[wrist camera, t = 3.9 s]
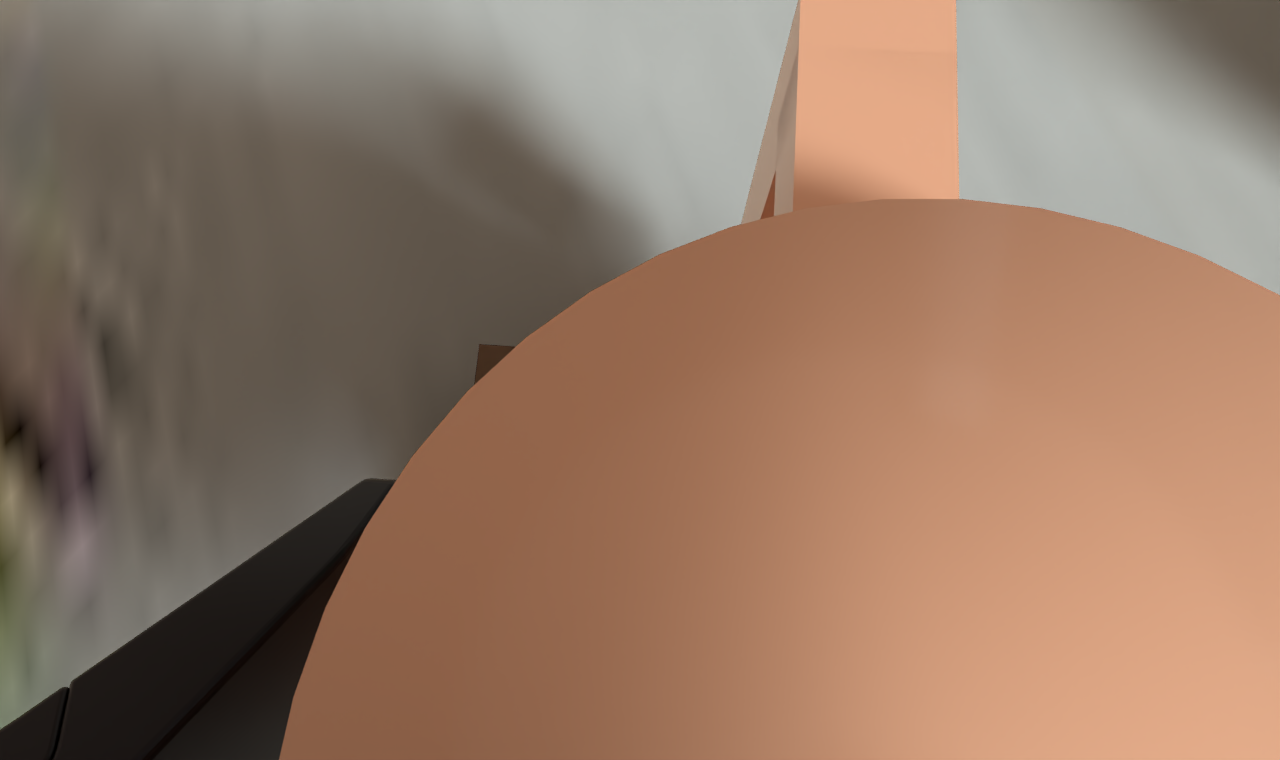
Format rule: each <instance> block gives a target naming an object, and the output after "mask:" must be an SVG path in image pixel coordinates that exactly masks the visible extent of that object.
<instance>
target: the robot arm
mask: <svg viewBox="0 0 1280 760" xmlns="http://www.w3.org/2000/svg"><path fill="white" fill-rule="evenodd" d="M395 482H396V480H388V479H374V478H370V479H365V480H363V481H361V482H360V483H358V484H357V485H355V486H354V487H352V488H351V489H349V490H348V491H347V492H345V493H344V494H342V495H341V496H339V497H338V498H336V499H335V500H333V501H332V502H331V503H329V504H328V505H326V506H325V507H323V508H322V509H320V510H319V511H318V512H316V513H315V514H313V515H312V516H310V517H309V518H307V519H306V520H304V521H303V522H302V523H300V524H299V525H297V526H296V527H294V528H293V529H291V530H290V531H289V532H287V533H286V534H284V535H283V536H281V537H280V538H278V539H277V540H276V541H274V542H273V543H271V544H270V545H268V546H267V547H265V548H264V549H262V550H261V551H260V552H258V553H257V554H255V555H254V556H252V557H251V558H249V559H248V560H247V561H245V562H244V563H242V564H241V565H239V566H238V567H236V568H235V569H233V570H232V571H231V572H229V573H228V574H226V575H225V576H223V577H222V578H220V579H219V580H218V581H216V582H215V583H213V584H212V585H210V586H209V587H207V588H206V589H205V590H203V591H202V592H200V593H199V594H197V595H196V596H194V597H193V598H191V599H190V600H189V601H187V602H186V603H184V604H183V605H181V606H180V607H178V608H177V609H176V610H174V611H173V612H171V613H170V614H168V615H167V616H165V617H164V618H162V619H161V620H160V621H158V622H157V623H155V624H154V625H152V626H151V627H149V628H148V629H147V630H145V631H144V632H142V633H141V634H139V635H138V636H136V637H135V638H134V639H132V640H131V641H129V642H128V643H126V644H125V645H123V646H122V647H120V648H119V649H118V650H116V651H115V652H113V653H112V654H110V655H109V656H107V657H106V658H105V659H103V660H102V661H100V662H99V663H97V664H96V665H94V666H93V667H92V668H90V669H89V670H87V671H86V672H84V673H83V674H81V675H80V676H78V677H77V678H76V679H74V680H73V681H72V682H71V684H70V688H68V687H63V688H61V689H59V690H58V691H56V692H55V693H53V694H52V695H50V696H49V697H48V698H46V699H45V700H43V701H42V702H40V703H39V704H37V705H36V706H35V707H33V708H32V709H30V710H29V711H27V712H26V713H24V714H23V715H21V716H20V717H19V718H17V719H16V720H14V721H13V722H11V723H10V724H8V725H7V726H5V727H4V728H2V729H1V730H0V760H279V757H280V753H281V749H282V744H283V740H284V736H285V731H286V727H287V723H288V718H289V714H290V710H291V706H292V701H293V697H294V694H295V691H296V688H297V686H298V683H299V680H300V677H301V674H302V672H303V669H304V666H305V663H306V660H307V658H308V655H309V652H310V649H311V646H312V644H313V641H314V638H315V635H316V632H317V630H318V627H319V624H320V621H321V619H322V616H323V613H324V610H325V608H326V606H327V604H328V602H329V600H330V598H331V596H332V594H333V592H334V590H335V588H336V585H337V583H338V581H339V579H340V577H341V575H342V573H343V571H344V569H345V567H346V565H347V563H348V561H349V559H350V557H351V555H352V553H353V551H354V549H355V547H356V545H357V543H358V541H359V539H360V537H361V535H362V533H363V531H364V529H365V527H366V526H367V524H368V523H369V521H370V520H371V518H372V517H373V515H374V514H375V512H376V511H377V509H378V508H379V506H380V505H381V503H382V502H383V500H384V498H385V497H386V495H387V494H388V492H389V491H390V489H391V488H392V486H393V485H394V483H395Z"/></svg>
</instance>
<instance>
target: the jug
mask: <svg viewBox="0 0 1280 760" xmlns="http://www.w3.org/2000/svg"><path fill="white" fill-rule="evenodd" d="M279 760H1280V295H1278V294H1276V293H1274V292H1272V291H1270V290H1268V289H1266V288H1264V287H1262V286H1260V285H1258V284H1256V283H1254V282H1252V281H1250V280H1248V279H1246V278H1244V277H1242V276H1240V275H1237V274H1235V273H1233V272H1231V271H1229V270H1227V269H1225V268H1223V267H1221V266H1219V265H1217V264H1215V263H1213V262H1211V261H1209V260H1207V259H1205V258H1203V257H1201V256H1198V255H1196V254H1193V253H1190V252H1187V251H1185V250H1182V249H1179V248H1176V247H1173V246H1171V245H1168V244H1165V243H1162V242H1160V241H1157V240H1154V239H1151V238H1148V237H1146V236H1143V235H1140V234H1137V233H1135V232H1132V231H1129V230H1126V229H1124V228H1121V227H1117V226H1113V225H1108V224H1104V223H1100V222H1096V221H1092V220H1087V219H1083V218H1079V217H1075V216H1070V215H1066V214H1062V213H1058V212H1054V211H1049V210H1045V209H1041V208H1033V207H1025V206H1016V205H1008V204H999V203H991V202H982V201H974V200H965V199H959V162H958V101H957V39H956V0H798V3H797V7H796V11H795V15H794V19H793V22H792V26H791V30H790V34H789V38H788V42H787V46H786V50H785V54H784V58H783V62H782V65H781V69H780V73H779V77H778V81H777V85H776V89H775V93H774V97H773V101H772V105H771V108H770V112H769V116H768V120H767V124H766V128H765V132H764V136H763V140H762V144H761V148H760V151H759V155H758V159H757V163H756V167H755V171H754V175H753V179H752V183H751V187H750V191H749V194H748V198H747V202H746V206H745V210H744V214H743V218H742V222H741V225H737V226H733V227H730V228H727V229H724V230H722V231H719V232H717V233H714V234H712V235H709V236H706V237H704V238H701V239H699V240H696V241H693V242H691V243H688V244H686V245H683V246H680V247H678V248H675V249H673V250H670V251H667V252H665V253H662V254H660V255H658V256H656V257H654V258H652V259H650V260H648V261H646V262H645V263H643V264H641V265H639V266H637V267H635V268H633V269H632V270H630V271H628V272H626V273H624V274H622V275H620V276H619V277H617V278H615V279H613V280H611V281H609V282H607V283H606V284H604V285H602V286H600V287H598V288H596V289H594V290H592V291H591V292H589V293H588V294H586V295H585V296H584V297H582V298H581V299H579V300H578V301H577V302H575V303H574V304H572V305H571V306H570V307H568V308H567V309H565V310H564V311H563V312H561V313H560V314H558V315H557V316H556V317H554V318H553V319H551V320H550V321H548V322H547V323H546V324H544V325H543V326H541V327H540V328H539V329H537V330H536V331H534V332H533V333H532V334H530V335H529V336H527V337H526V338H525V339H524V340H523V341H522V342H521V343H520V344H518V345H517V346H516V347H515V348H514V349H513V350H512V351H511V352H510V353H509V354H508V355H506V356H505V357H504V358H503V359H502V360H501V361H500V362H499V363H498V364H497V365H496V366H495V367H493V368H492V369H491V370H490V371H489V372H488V373H487V374H486V375H485V376H484V377H483V378H481V379H480V380H479V381H478V382H477V383H476V384H475V385H474V386H473V387H472V388H471V389H469V390H468V391H467V392H466V393H465V395H464V396H463V397H462V398H461V399H460V401H459V402H458V403H457V404H456V405H455V406H454V408H453V409H452V410H451V411H450V412H449V413H448V415H447V416H446V417H445V418H444V419H443V421H442V422H441V423H440V424H439V425H438V426H437V428H436V429H435V430H434V431H433V432H432V433H431V435H430V436H429V437H428V438H427V439H426V441H425V442H424V443H423V444H422V445H421V446H420V448H419V449H418V450H417V451H416V452H415V454H414V455H413V456H412V457H411V459H410V460H409V462H408V464H407V465H406V467H405V468H404V470H403V471H402V473H401V474H400V476H399V477H398V479H397V480H396V482H395V483H394V485H393V486H392V488H391V489H390V491H389V492H388V494H387V495H386V497H385V498H384V500H383V502H382V503H381V505H380V506H379V508H378V509H377V511H376V512H375V514H374V515H373V517H372V518H371V520H370V521H369V523H368V524H367V526H366V527H365V529H364V531H363V533H362V535H361V537H360V539H359V541H358V543H357V545H356V547H355V549H354V551H353V553H352V555H351V557H350V559H349V561H348V563H347V565H346V567H345V569H344V571H343V573H342V575H341V577H340V579H339V581H338V583H337V585H336V588H335V590H334V592H333V594H332V596H331V598H330V600H329V602H328V604H327V606H326V608H325V610H324V613H323V616H322V619H321V621H320V624H319V627H318V630H317V632H316V635H315V638H314V641H313V644H312V646H311V649H310V652H309V655H308V658H307V660H306V663H305V666H304V669H303V672H302V674H301V677H300V680H299V683H298V686H297V688H296V691H295V694H294V697H293V701H292V706H291V710H290V714H289V718H288V723H287V727H286V731H285V736H284V740H283V744H282V749H281V753H280V757H279Z"/></svg>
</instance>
